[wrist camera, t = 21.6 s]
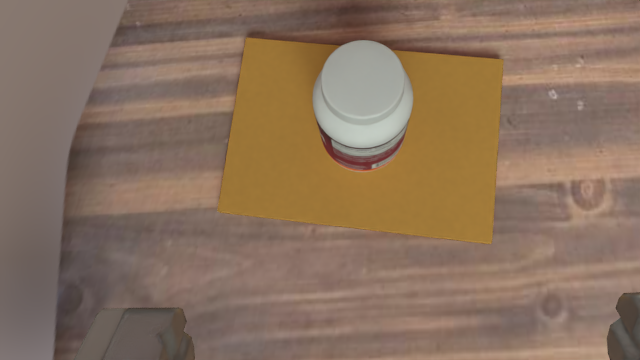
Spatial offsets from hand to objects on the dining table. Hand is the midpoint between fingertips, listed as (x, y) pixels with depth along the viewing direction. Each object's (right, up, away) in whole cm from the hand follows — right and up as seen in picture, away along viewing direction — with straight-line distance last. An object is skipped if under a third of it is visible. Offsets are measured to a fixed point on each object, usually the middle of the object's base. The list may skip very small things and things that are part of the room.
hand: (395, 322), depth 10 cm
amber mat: (+2, +6, +31) cm, 32 cm away
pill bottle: (+2, +6, +31) cm, 31 cm away
